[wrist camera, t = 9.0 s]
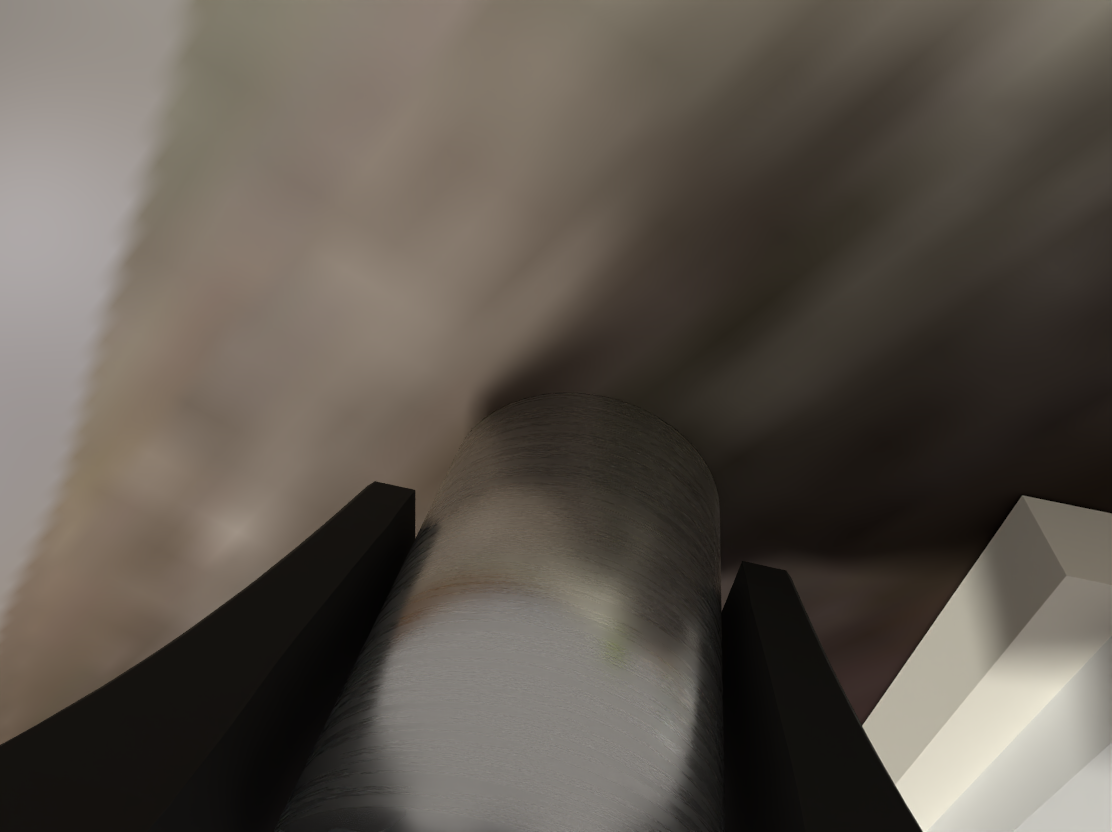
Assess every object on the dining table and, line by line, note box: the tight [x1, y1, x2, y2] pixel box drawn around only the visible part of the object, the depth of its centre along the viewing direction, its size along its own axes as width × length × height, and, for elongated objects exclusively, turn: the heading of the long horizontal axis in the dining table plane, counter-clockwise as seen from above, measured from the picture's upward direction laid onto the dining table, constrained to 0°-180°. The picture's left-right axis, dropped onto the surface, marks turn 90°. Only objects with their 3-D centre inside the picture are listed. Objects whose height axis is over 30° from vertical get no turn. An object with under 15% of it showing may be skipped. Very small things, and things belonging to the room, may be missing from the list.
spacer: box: [274, 393, 725, 832], centre depth 9 cm, size 4×4×6 cm
